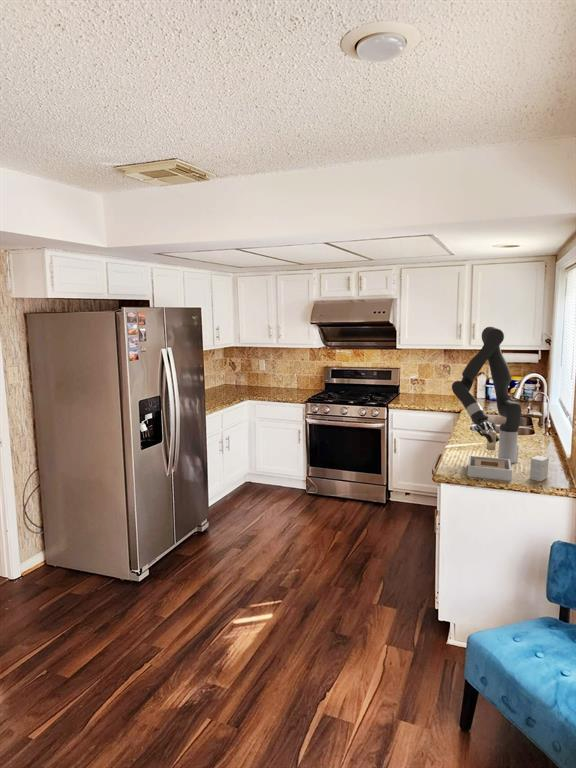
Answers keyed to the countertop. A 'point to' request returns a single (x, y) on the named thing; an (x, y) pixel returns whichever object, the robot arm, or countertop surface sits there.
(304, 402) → the countertop surface
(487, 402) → the countertop surface
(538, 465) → the small box
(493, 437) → the peg
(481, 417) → the robot arm
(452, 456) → the countertop surface
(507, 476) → the bin
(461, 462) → the countertop surface
